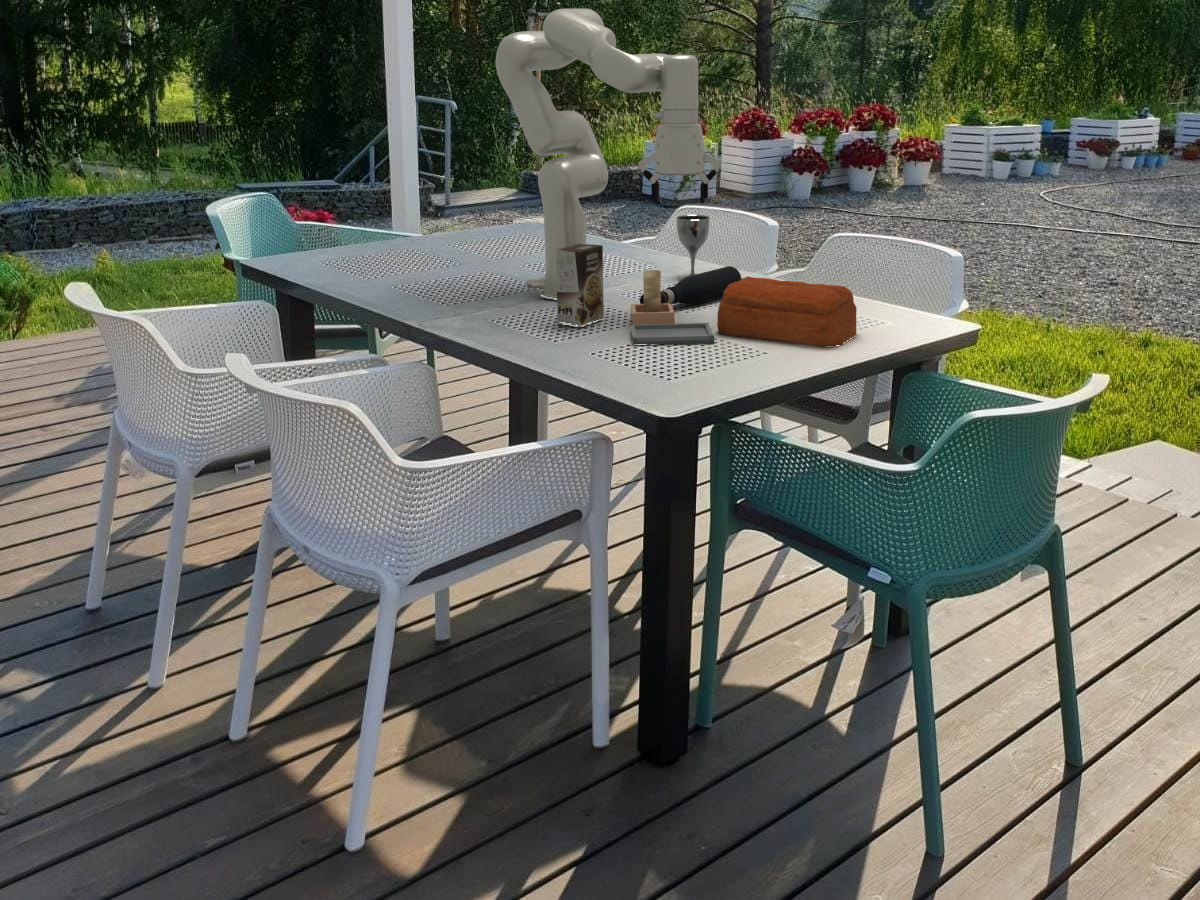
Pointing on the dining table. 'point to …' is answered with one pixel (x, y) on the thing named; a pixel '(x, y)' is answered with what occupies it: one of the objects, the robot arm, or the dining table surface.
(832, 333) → the bread
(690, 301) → the wine bottle
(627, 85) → the robot arm
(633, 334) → the tray
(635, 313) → the square copper frame
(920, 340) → the dining table surface
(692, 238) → the wine glass
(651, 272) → the dowel
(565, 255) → the coffee box
